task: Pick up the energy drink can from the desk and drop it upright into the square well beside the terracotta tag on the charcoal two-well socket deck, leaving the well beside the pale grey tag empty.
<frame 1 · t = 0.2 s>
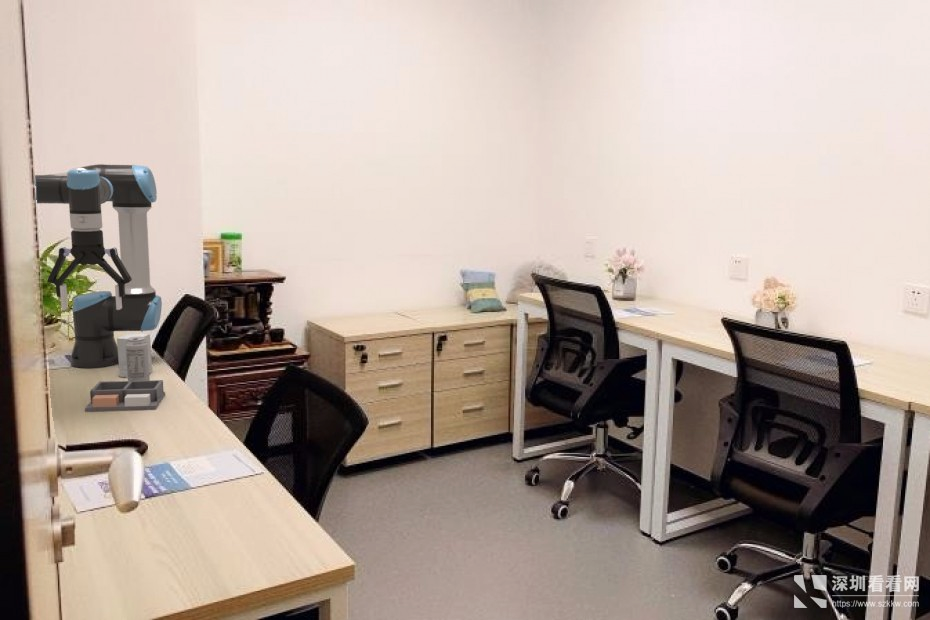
hand: (92, 309, 205), 27 cm above the table, fingers open, 13 cm apart
supplement box: (136, 375, 242), on the table
energy drink can: (139, 387, 229), on the table
socket deck: (126, 402, 215), on the table
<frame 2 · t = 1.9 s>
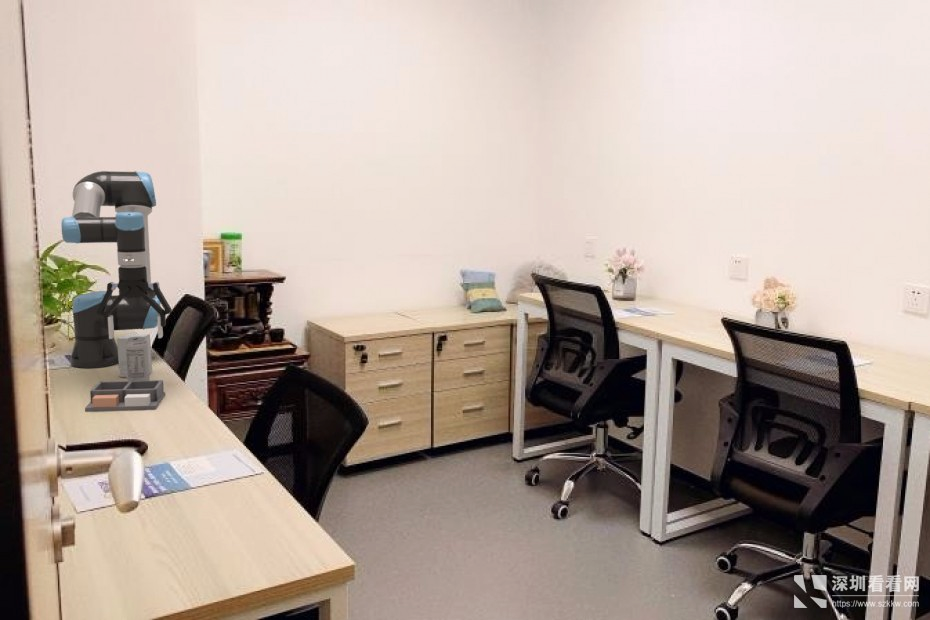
hand: (136, 337, 226), 15 cm above the table, fingers open, 13 cm apart
nothing on the table moved.
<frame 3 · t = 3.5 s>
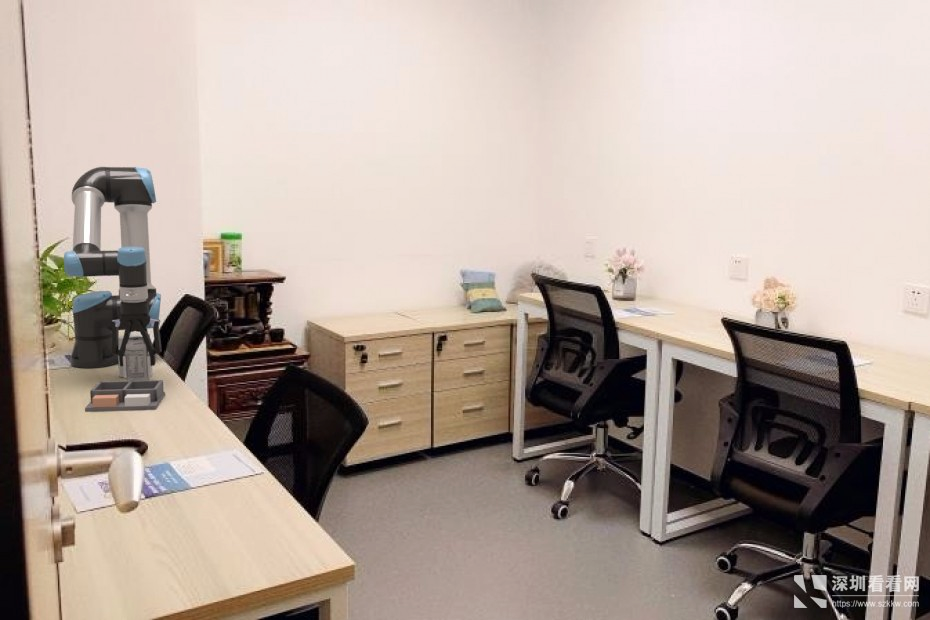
hand: (138, 376, 228), 3 cm above the table, fingers closed on energy drink can, 6 cm apart
energy drink can: (139, 387, 229), on the table, touching gripper
everything else where it was.
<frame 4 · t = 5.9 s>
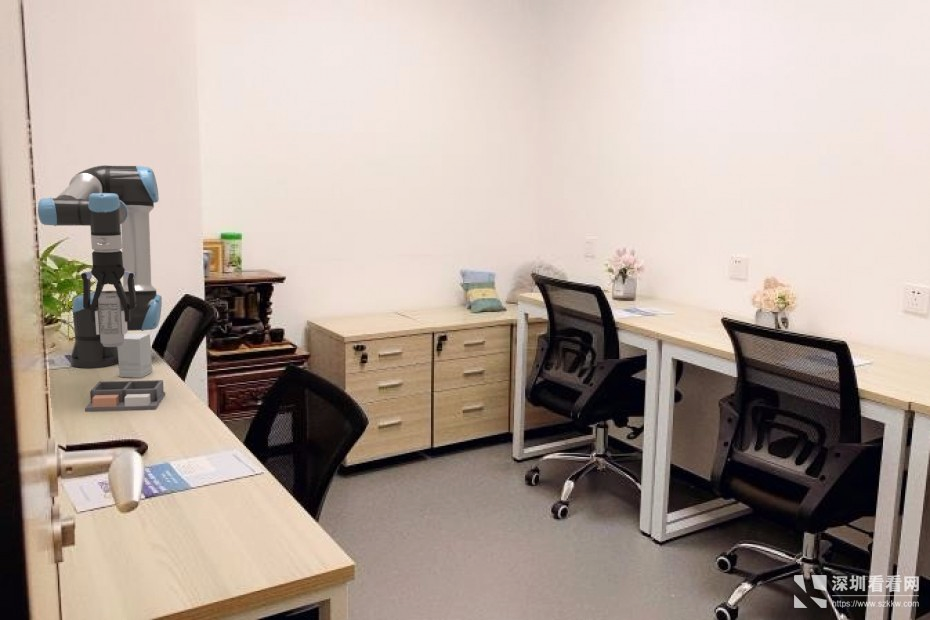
hand: (112, 333, 213), 19 cm above the table, fingers closed on energy drink can, 6 cm apart
energy drink can: (112, 345, 214), point 16 cm above the table, touching gripper
everything else where it was.
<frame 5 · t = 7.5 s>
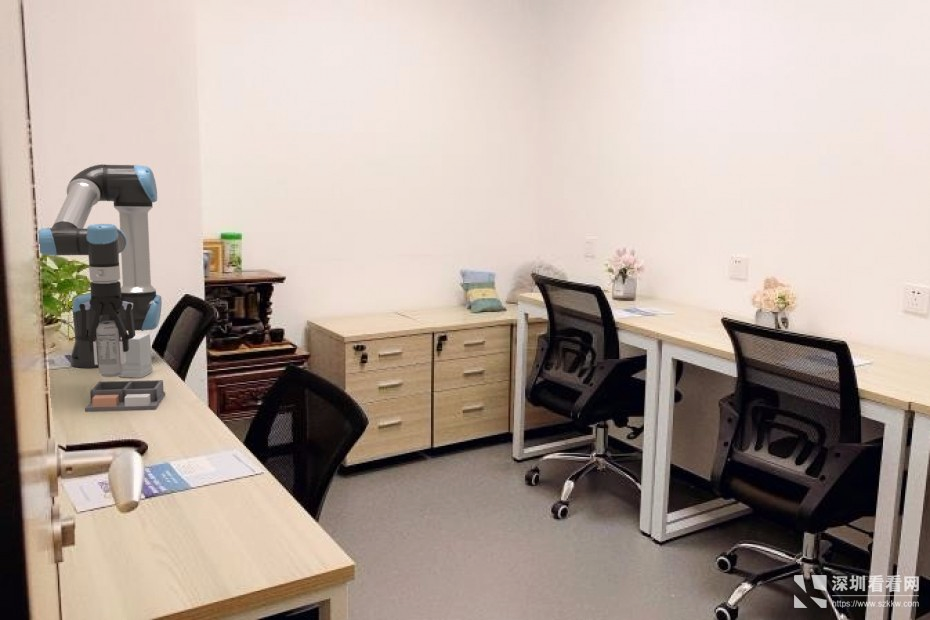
hand: (110, 363, 213), 11 cm above the table, fingers closed on energy drink can, 6 cm apart
energy drink can: (111, 375, 214), point 8 cm above the table, touching gripper
everything else where it was.
when the fingers open (7 cm above the table, at t = 8.6 s): energy drink can drops 2 cm, resting on socket deck.
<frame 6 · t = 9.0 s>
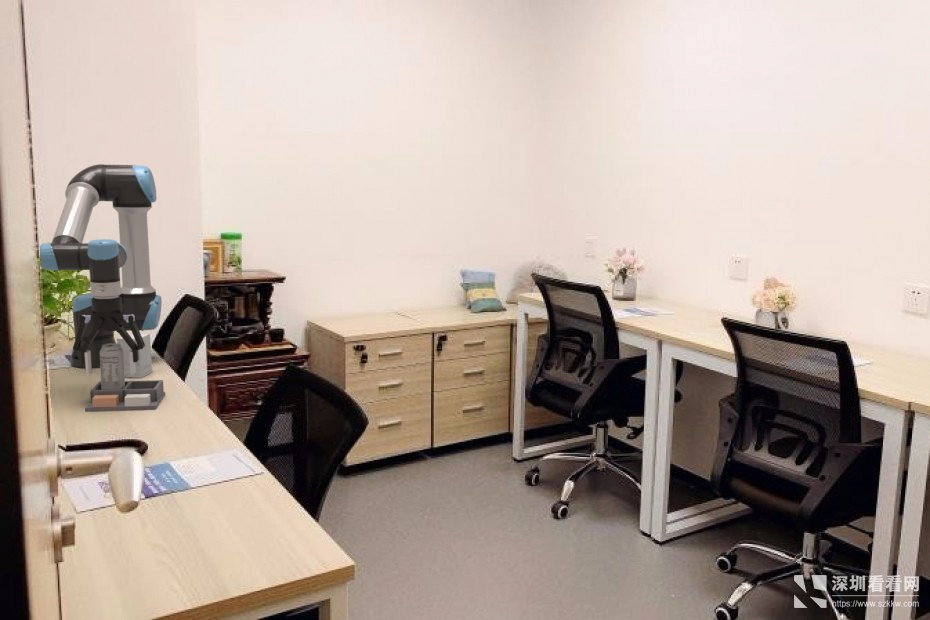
hand: (111, 373, 214), 8 cm above the table, fingers open, 11 cm apart
energy drink can: (113, 397, 216), point 1 cm above the table, touching socket deck
everything else where it was.
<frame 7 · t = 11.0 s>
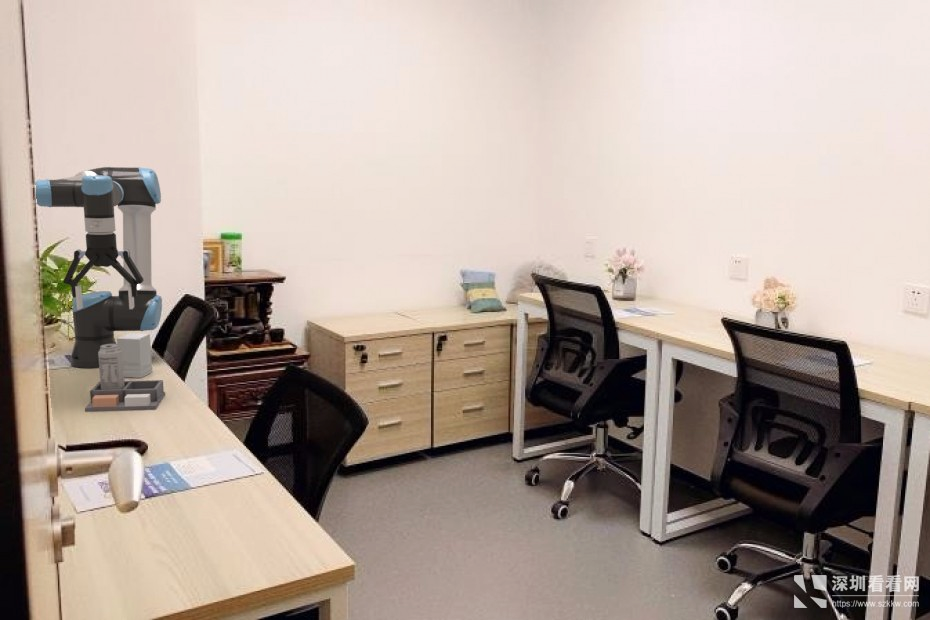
hand: (106, 308, 215), 26 cm above the table, fingers open, 13 cm apart
nothing on the table moved.
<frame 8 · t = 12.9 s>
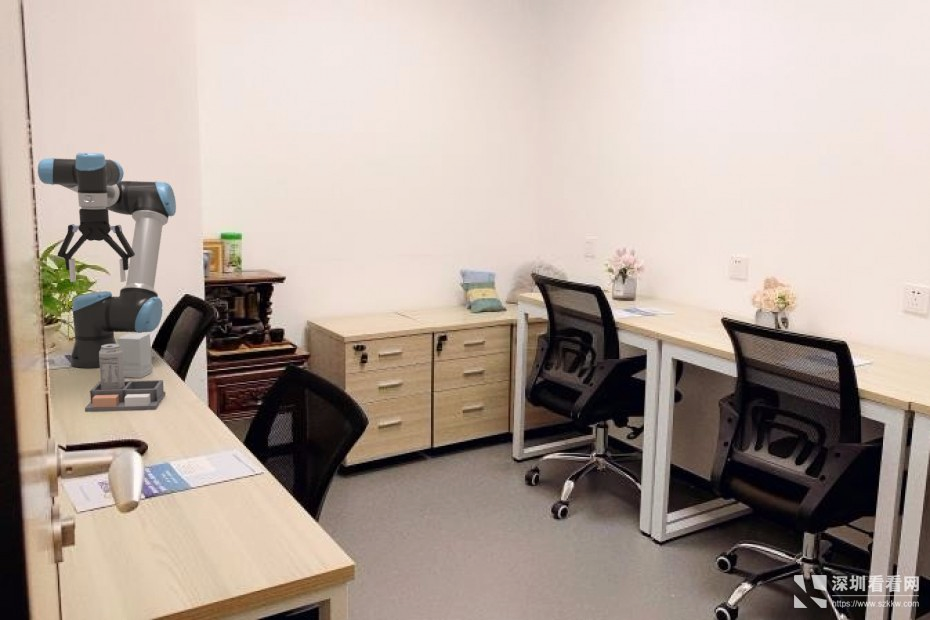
hand: (98, 281, 223), 32 cm above the table, fingers open, 13 cm apart
nothing on the table moved.
at the end: energy drink can 0.2 cm from the target spot on the socket deck, point 0.8 cm above the socket deck's base; energy drink can tilted 0°; the gripper is holding nothing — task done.
